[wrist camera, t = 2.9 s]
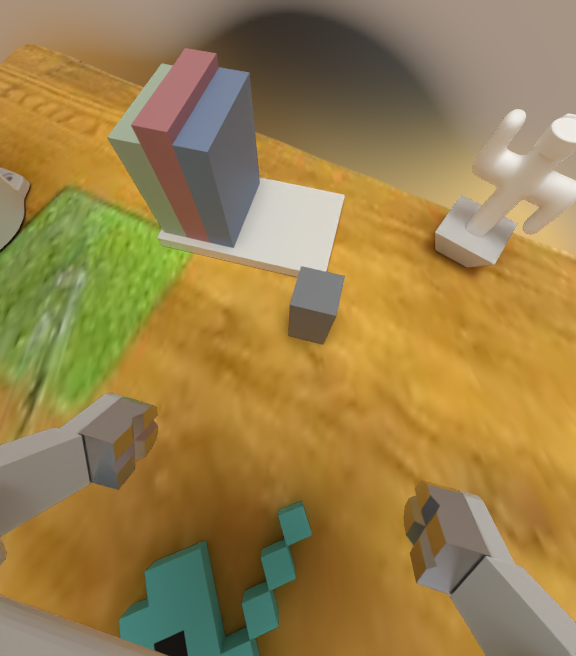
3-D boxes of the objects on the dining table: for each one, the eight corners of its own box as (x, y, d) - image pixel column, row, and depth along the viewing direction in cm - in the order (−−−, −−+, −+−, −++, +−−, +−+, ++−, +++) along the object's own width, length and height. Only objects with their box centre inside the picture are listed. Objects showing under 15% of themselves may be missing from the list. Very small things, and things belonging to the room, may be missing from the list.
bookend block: (288, 335, 30) (290, 304, 23) (296, 304, 32) (301, 266, 24) (323, 344, 30) (336, 316, 22) (330, 312, 31) (344, 275, 24)
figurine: (481, 286, 33) (628, 179, 19) (412, 247, 35) (499, 123, 21) (503, 247, 35) (649, 125, 21) (437, 212, 37) (531, 79, 23)
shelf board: (162, 245, 34) (82, 124, 21) (199, 173, 39) (154, 36, 25) (323, 283, 33) (351, 178, 19) (342, 203, 37) (376, 74, 24)
